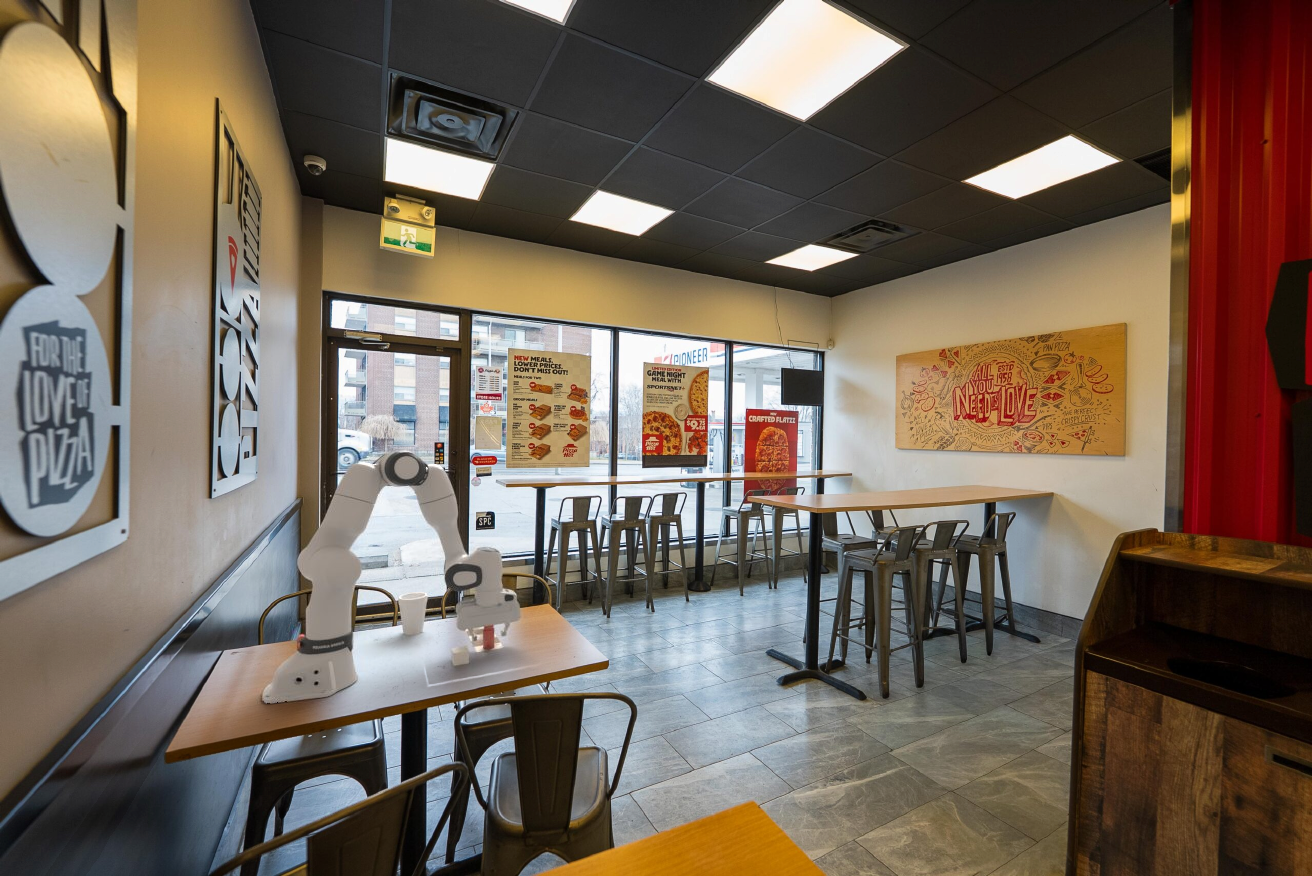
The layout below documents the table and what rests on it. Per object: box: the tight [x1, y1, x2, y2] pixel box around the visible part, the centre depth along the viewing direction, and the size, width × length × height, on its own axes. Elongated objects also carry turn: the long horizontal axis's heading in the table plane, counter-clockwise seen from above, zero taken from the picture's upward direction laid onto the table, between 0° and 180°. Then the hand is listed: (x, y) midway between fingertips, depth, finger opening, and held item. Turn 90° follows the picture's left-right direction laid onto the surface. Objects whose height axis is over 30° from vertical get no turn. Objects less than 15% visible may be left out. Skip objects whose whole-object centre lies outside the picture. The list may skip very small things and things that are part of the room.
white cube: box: [451, 645, 470, 667], centre depth 169 cm, size 4×4×4 cm
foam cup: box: [398, 591, 428, 636], centre depth 197 cm, size 10×9×13 cm
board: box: [463, 627, 504, 653], centre depth 191 cm, size 9×28×1 cm, turn 27°
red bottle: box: [482, 625, 495, 649], centre depth 181 cm, size 4×4×9 cm
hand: (489, 638), depth 181 cm, fingers open, 8 cm apart
